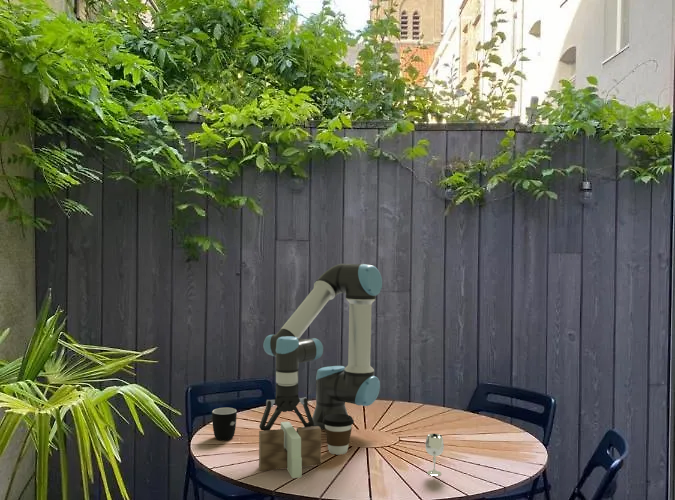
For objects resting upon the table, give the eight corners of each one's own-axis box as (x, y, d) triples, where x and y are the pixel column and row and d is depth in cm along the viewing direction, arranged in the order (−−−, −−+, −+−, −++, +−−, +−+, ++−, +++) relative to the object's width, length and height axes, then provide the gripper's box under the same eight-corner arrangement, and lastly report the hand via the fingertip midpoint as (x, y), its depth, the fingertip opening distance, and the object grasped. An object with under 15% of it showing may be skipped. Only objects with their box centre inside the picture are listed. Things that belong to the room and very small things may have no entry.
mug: (231, 442, 223) (231, 414, 223) (208, 441, 224) (208, 413, 224) (242, 432, 235) (242, 406, 234) (220, 431, 236) (220, 404, 236)
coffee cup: (357, 448, 217) (357, 415, 217) (348, 458, 207) (348, 423, 207) (328, 445, 221) (328, 412, 220) (317, 455, 210) (318, 420, 210)
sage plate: (288, 455, 210) (288, 420, 210) (301, 477, 191) (301, 439, 190) (279, 456, 209) (280, 421, 209) (292, 478, 190) (292, 439, 190)
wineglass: (423, 470, 197) (423, 433, 197) (440, 469, 198) (441, 432, 198) (427, 477, 192) (427, 438, 191) (445, 476, 192) (445, 438, 192)
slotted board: (318, 461, 204) (318, 426, 204) (320, 464, 201) (321, 428, 201) (259, 467, 198) (259, 430, 198) (260, 471, 195) (260, 433, 195)
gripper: (318, 378, 211) (317, 442, 212) (250, 382, 205) (250, 448, 205) (323, 383, 204) (323, 449, 205) (254, 388, 198) (253, 455, 198)
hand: (286, 448), depth 205 cm, fingers open, 11 cm apart
